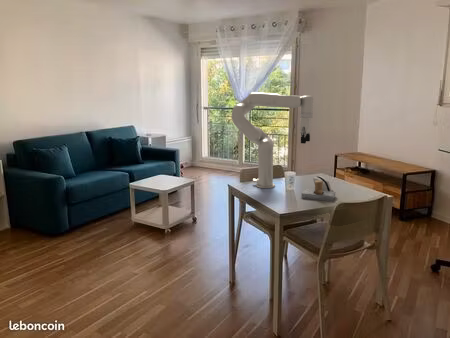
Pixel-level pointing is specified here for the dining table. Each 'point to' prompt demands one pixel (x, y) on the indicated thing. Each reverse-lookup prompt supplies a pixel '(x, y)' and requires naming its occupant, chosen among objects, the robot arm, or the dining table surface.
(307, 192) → the flat grey box
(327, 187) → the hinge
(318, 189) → the peg
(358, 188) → the dining table surface
